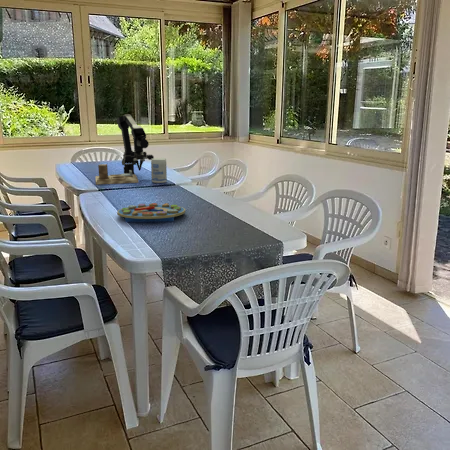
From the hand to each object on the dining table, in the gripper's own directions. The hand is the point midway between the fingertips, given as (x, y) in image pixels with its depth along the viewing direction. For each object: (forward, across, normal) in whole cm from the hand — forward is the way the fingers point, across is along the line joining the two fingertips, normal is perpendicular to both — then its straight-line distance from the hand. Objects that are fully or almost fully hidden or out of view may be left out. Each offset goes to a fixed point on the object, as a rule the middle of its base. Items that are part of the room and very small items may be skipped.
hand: (139, 170), depth 294 cm
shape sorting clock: (+5, -5, -100) cm, 100 cm away
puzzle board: (+5, -16, -6) cm, 17 cm away
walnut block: (+3, -24, -12) cm, 26 cm away
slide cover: (+3, -9, 0) cm, 9 cm away
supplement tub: (+5, +10, -18) cm, 21 cm away
